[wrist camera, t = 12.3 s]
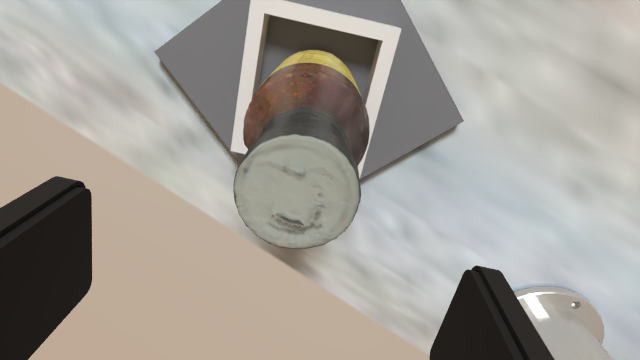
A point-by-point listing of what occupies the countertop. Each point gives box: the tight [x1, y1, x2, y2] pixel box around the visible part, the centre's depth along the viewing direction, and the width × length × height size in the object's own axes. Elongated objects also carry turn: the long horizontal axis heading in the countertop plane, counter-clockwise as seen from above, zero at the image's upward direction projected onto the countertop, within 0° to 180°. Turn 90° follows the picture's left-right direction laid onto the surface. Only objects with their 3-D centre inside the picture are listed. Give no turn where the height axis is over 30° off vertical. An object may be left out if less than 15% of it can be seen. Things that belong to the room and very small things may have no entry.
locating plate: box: [155, 0, 463, 179], centre depth 30 cm, size 17×17×4 cm
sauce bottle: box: [234, 50, 370, 249], centre depth 22 cm, size 6×6×20 cm
